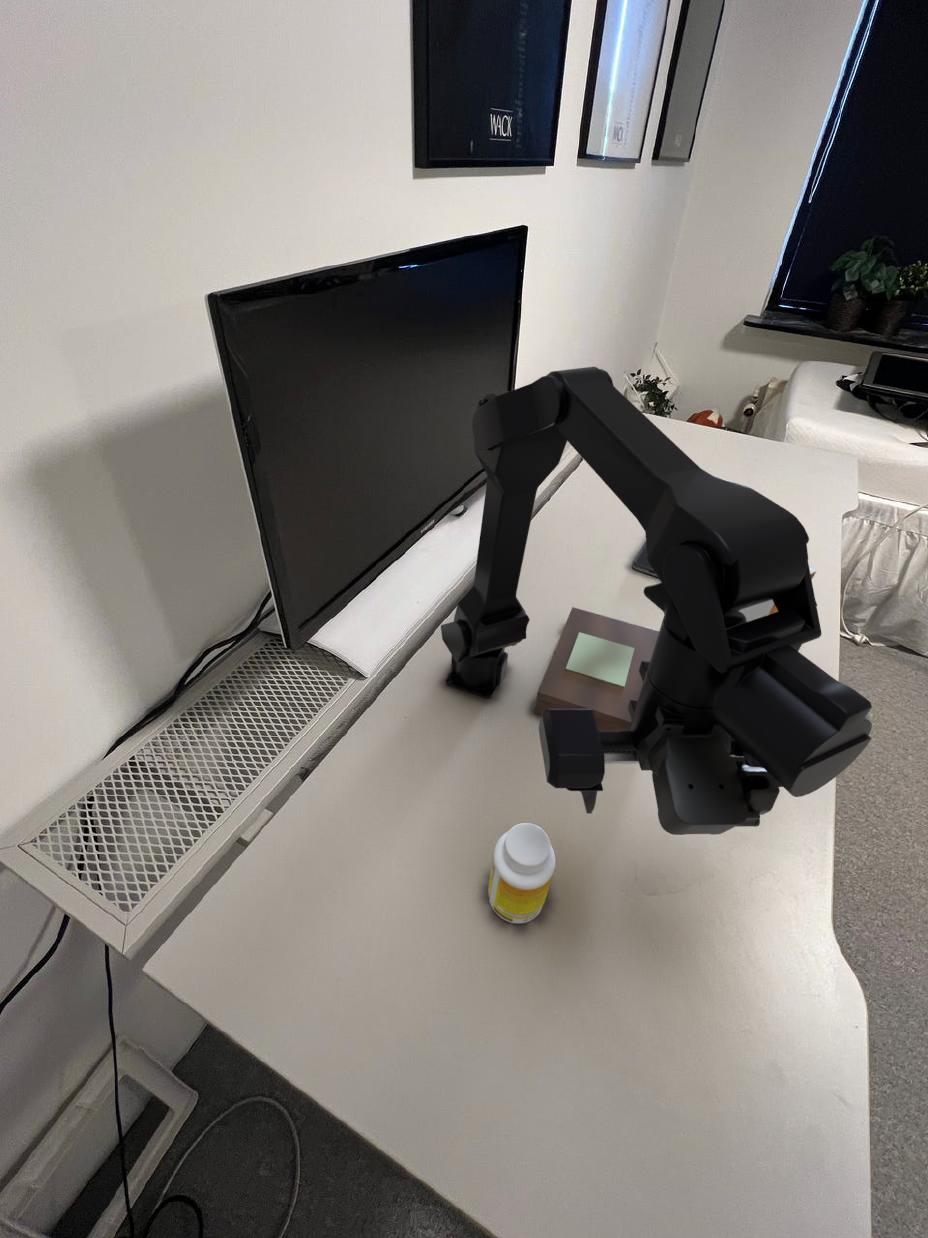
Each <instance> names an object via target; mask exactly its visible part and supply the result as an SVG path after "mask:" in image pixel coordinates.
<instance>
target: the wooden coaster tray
mask: <svg viewBox="0 0 928 1238" xmlns="http://www.w3.org/2000/svg"><path fill="white" fill-rule="evenodd" d="M659 631H660V630H656V629H652V628H650V627H646V626H641V625H638V624H635V623H631V622H628V621H624V620H620V619H617V618H613V617H610V616H606V615H603V614H599V613H595V612H591V611H588V610H585V609H580V608H579V607H578V608H577V607H574V606H572V607H571V609H570V612H569V614H568V617H567V619H566V622H565V624H564V627H563V628H562V631H561V634H560V636H559V639H558V641H557V644H556V646H555V649H554V651H553V653H552V655H551V658H550V660H549V663H548V666H547V669H546V670H545V673H544V676H543V678H542V680H541V682H540V685H539V688H538V691H537V694H536V699H535V703H534V709H533V714H536V715H539V716H541V715H542V714H543V713H544V712H545V711H546V710H547V709H592V710H593V713H594V717H595V721H596V724H597V728H598V731H629V728H630V724H631V721H632V720H631V717H630V714H629V711H628V706H629V702H630V699H638V698H639V695H640V692H641V689H642V685H643V681H642V678H641V675H640V673H639V668H640V665H641V662H642V661H650V660H651V657H652V653H653V650H654V647H655V644H656V640H657V637H658V634H659Z"/></svg>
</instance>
